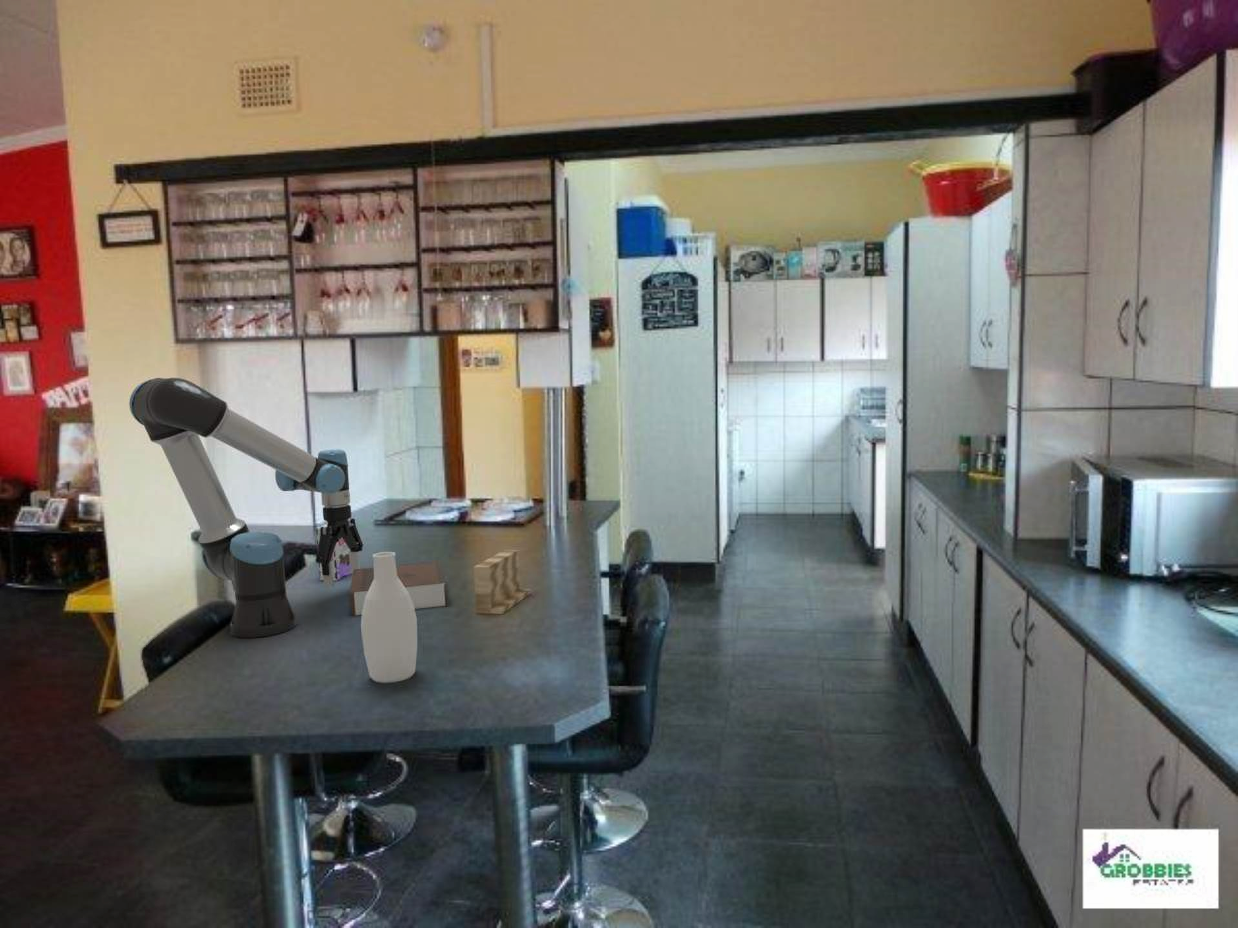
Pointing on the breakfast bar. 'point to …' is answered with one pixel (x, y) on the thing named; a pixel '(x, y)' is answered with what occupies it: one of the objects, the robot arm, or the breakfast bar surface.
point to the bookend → (498, 583)
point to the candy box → (337, 558)
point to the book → (416, 578)
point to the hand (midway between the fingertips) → (342, 580)
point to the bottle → (388, 624)
